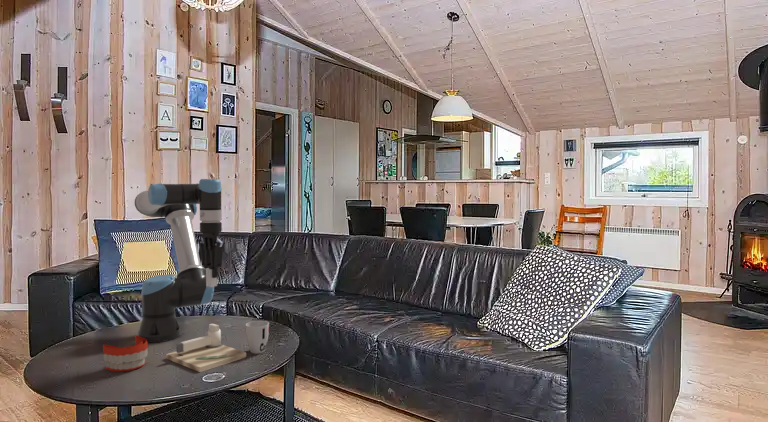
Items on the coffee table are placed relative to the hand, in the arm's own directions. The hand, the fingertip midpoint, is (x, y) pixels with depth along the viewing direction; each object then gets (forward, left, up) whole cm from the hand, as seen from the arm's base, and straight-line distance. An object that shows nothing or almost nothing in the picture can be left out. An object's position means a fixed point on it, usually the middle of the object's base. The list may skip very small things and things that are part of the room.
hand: (211, 285), depth 191 cm
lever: (+4, -8, -20) cm, 22 cm away
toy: (-3, -29, -23) cm, 37 cm away
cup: (+17, +7, -23) cm, 29 cm away
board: (+9, -9, -22) cm, 26 cm away
